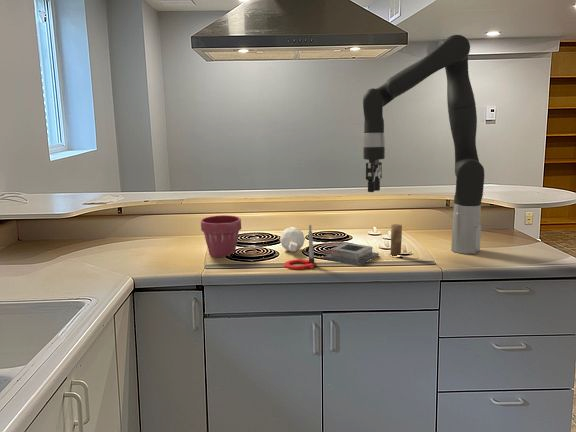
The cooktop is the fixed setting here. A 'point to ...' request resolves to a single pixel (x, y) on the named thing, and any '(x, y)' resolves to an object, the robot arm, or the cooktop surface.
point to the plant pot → (221, 234)
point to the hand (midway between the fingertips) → (373, 191)
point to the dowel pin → (396, 239)
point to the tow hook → (308, 263)
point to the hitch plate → (328, 257)
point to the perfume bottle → (292, 239)
